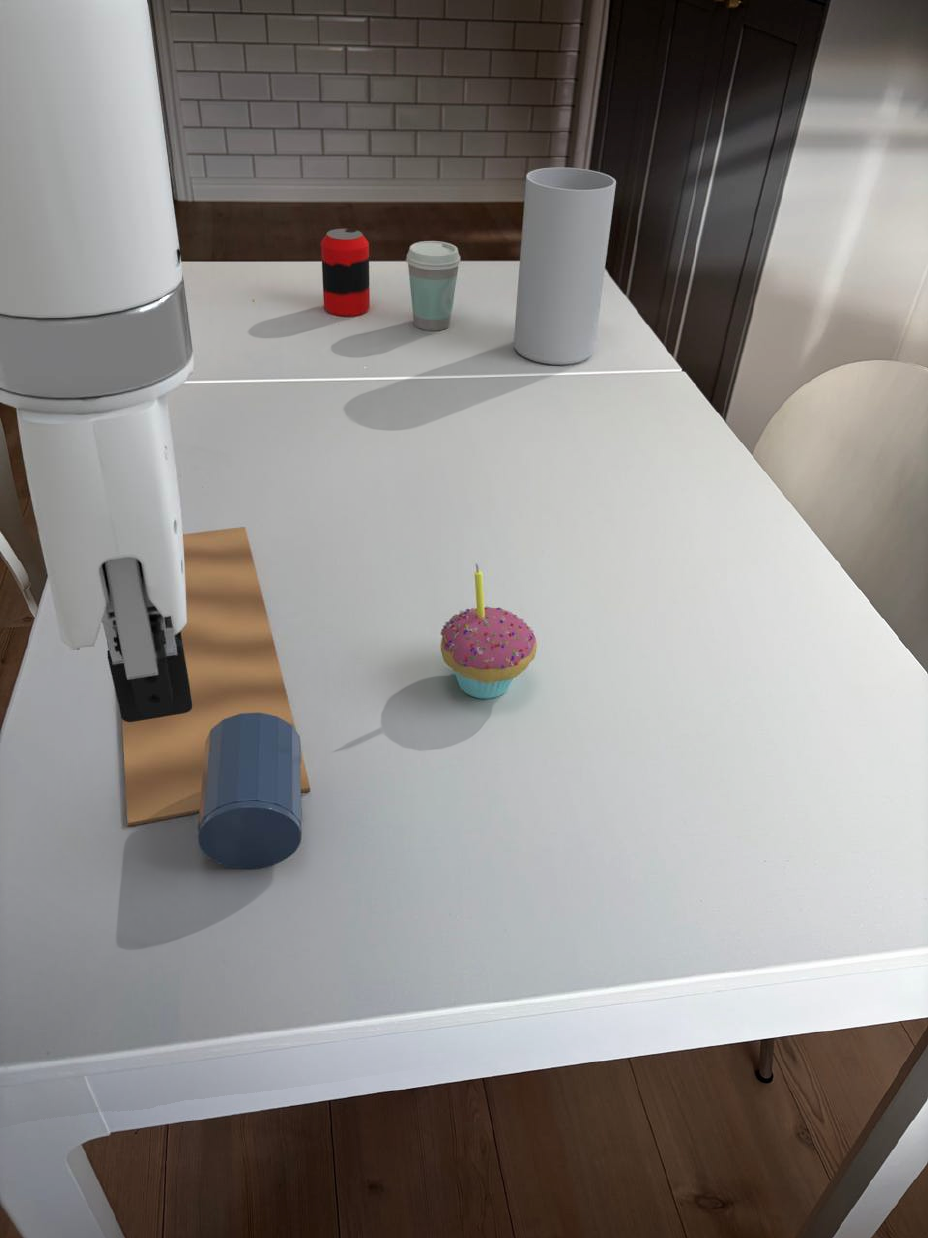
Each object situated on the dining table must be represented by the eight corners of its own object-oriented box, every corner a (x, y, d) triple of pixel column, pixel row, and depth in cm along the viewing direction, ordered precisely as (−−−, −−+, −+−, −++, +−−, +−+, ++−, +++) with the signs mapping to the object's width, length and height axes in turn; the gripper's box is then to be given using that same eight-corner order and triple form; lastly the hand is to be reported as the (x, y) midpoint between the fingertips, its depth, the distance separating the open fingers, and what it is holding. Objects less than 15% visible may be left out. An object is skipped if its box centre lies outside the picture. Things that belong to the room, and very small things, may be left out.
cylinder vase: (545, 372, 146) (563, 194, 131) (497, 343, 154) (508, 172, 139) (610, 357, 152) (634, 184, 137) (560, 329, 160) (578, 164, 145)
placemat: (310, 791, 79) (310, 787, 79) (128, 826, 76) (127, 823, 75) (245, 529, 109) (245, 526, 109) (112, 546, 106) (111, 542, 105)
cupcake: (419, 677, 91) (421, 569, 83) (486, 640, 95) (494, 535, 88) (484, 727, 86) (492, 617, 78) (551, 685, 91) (565, 578, 83)
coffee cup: (446, 337, 155) (449, 260, 148) (396, 328, 158) (397, 251, 150) (466, 319, 162) (469, 244, 155) (417, 310, 164) (419, 236, 157)
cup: (273, 795, 68) (275, 701, 74) (178, 827, 69) (188, 731, 75) (317, 850, 72) (315, 757, 79) (228, 879, 73) (233, 785, 80)
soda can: (377, 305, 165) (376, 231, 158) (357, 320, 160) (355, 243, 152) (336, 297, 167) (334, 224, 160) (315, 312, 162) (312, 236, 154)
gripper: (-15, 270, 40) (73, 624, 52) (-49, 435, 29) (74, 842, 40) (174, 260, 42) (220, 604, 54) (210, 412, 31) (259, 806, 42)
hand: (157, 705), depth 47 cm, fingers closed
